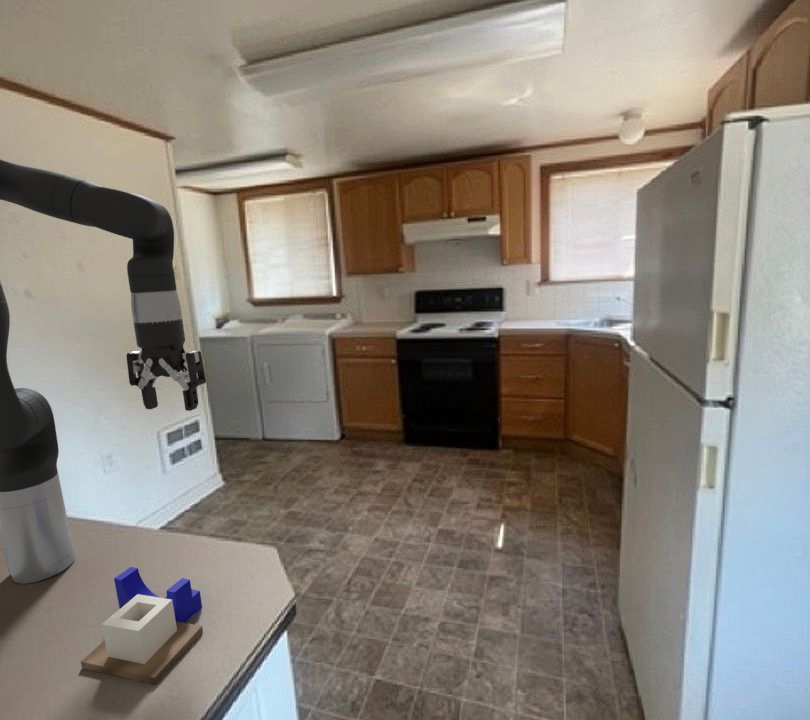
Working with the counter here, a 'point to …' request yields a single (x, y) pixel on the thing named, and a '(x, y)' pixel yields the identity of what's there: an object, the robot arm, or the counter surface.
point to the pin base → (154, 666)
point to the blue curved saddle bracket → (180, 593)
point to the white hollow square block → (139, 628)
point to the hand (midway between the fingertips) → (171, 408)
